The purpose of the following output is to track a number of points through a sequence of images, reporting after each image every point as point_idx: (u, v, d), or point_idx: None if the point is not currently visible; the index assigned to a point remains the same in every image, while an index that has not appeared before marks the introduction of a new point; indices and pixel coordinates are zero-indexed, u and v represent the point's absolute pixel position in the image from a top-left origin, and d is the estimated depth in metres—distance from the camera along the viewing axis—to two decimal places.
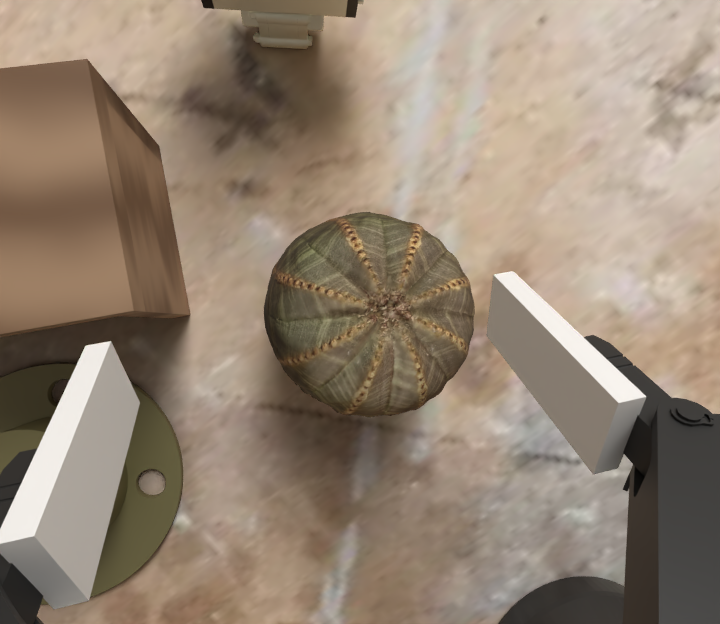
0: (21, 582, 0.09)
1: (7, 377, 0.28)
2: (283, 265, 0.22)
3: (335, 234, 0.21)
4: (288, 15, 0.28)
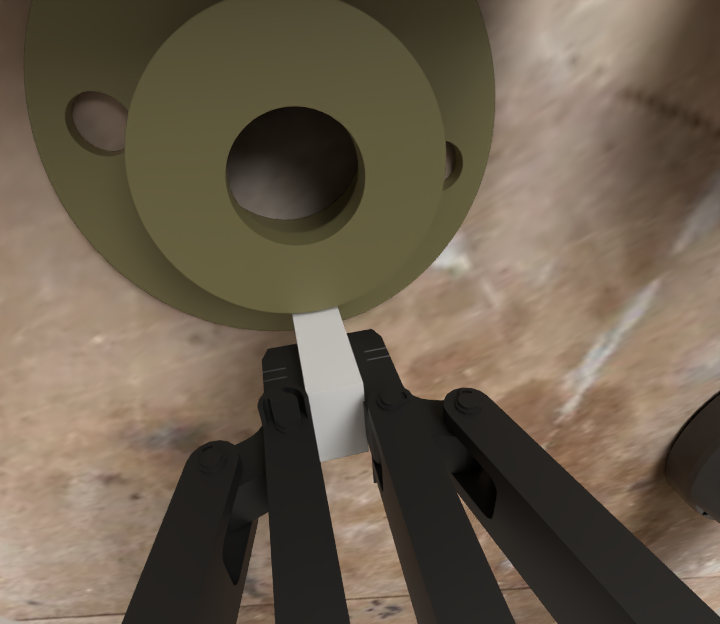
0: (314, 430, 0.12)
1: None
2: None
3: None
4: None
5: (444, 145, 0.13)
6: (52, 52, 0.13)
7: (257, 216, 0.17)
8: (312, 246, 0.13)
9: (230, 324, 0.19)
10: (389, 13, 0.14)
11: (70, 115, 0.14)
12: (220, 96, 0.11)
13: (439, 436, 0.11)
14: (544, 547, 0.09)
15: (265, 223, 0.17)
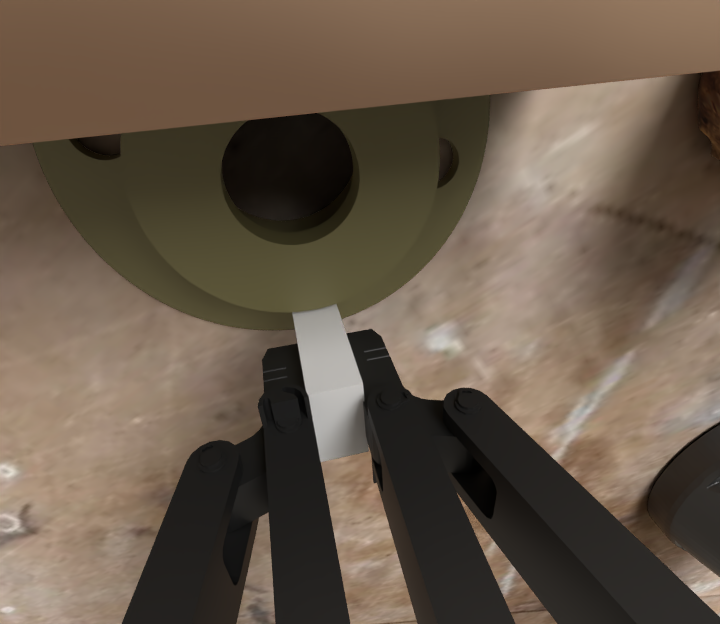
0: (314, 430, 0.12)
1: None
2: None
3: None
4: None
5: (437, 142, 0.13)
6: None
7: (255, 216, 0.17)
8: (308, 245, 0.13)
9: (230, 324, 0.19)
10: None
11: None
12: None
13: (439, 436, 0.11)
14: (543, 548, 0.09)
15: (263, 223, 0.17)
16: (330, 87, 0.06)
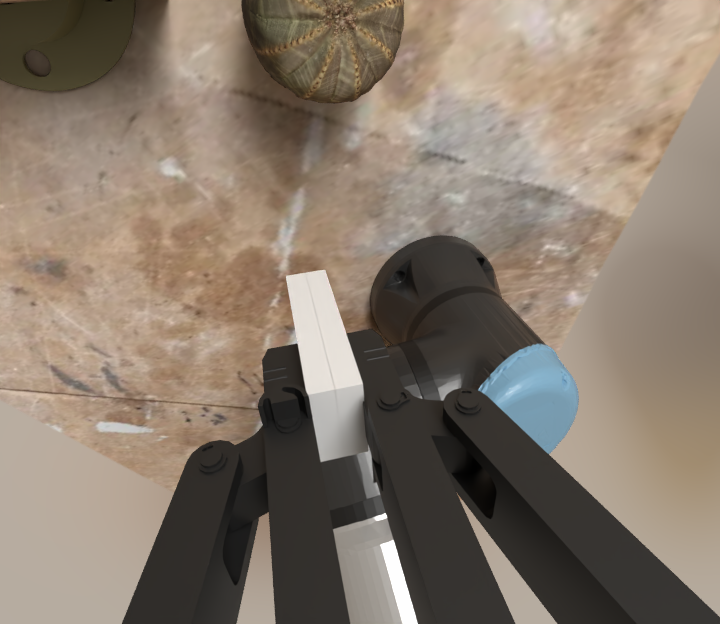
0: (314, 430, 0.12)
1: None
2: None
3: None
4: None
5: None
6: None
7: None
8: (12, 5, 0.30)
9: (17, 84, 0.35)
10: None
11: None
12: None
13: (439, 436, 0.11)
14: (543, 548, 0.09)
15: None
16: None
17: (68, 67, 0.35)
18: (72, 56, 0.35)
